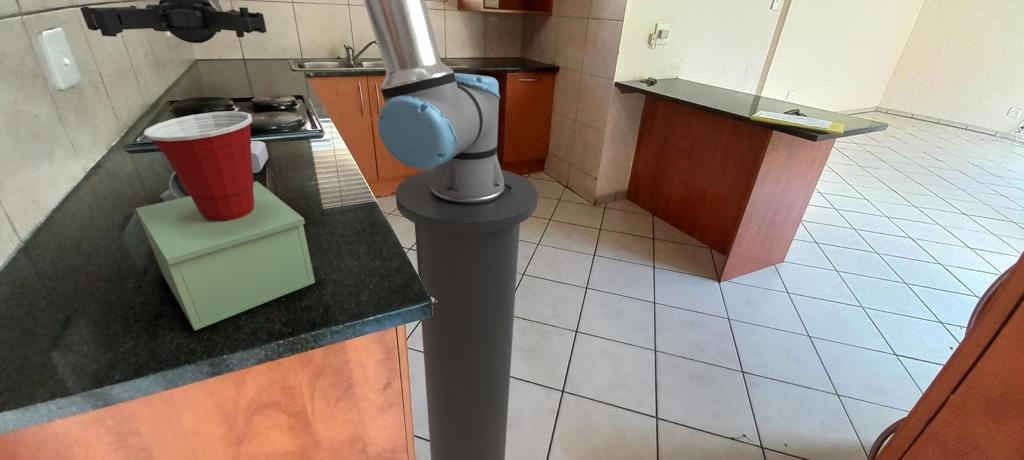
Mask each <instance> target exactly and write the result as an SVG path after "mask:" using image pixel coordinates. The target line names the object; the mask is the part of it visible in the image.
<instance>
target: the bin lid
mask: <svg viewBox="0 0 1024 460" xmlns="http://www.w3.org/2000/svg"><path fill="white" fill-rule="evenodd" d="M253 182H254V186H253V193H254V209H253V210H252V212H251V213H249V214H247V215H245V216H243V217H240V218H237V219H233V220H227V221H211V220H207V219H206V218H204V217H203V215H202V214H201V213H200V212H199V210H198V208H197V206H196V205H195V203H194V201H193V199H192V198H191V196H189V197H184V198H180V199H175V200H171V201H166V202H164V201H162V202H158V203H153V204H148V205H144V206H140V207H136V208H135V211H136V213H137V216H138V215H139V216H138V218H139V217H140V218H141V220H142V222H143V223H144V225H145V227H146V228H147V230H148V232H149V233H150V235H151V237H152V238H153V240H154V242H155V243H156V245H157V247H158V248H159V250H160V252H161V253H162V255H163V257H164V258H165V260H166V262H167V263H168V265H171V264H174V263H177V262H180V261H184V260H187V259H190V258H194V257H197V256H200V255H203V254H207V253H210V252H213V251H217V250H220V249H223V248H227V247H230V246H233V245H236V244H240V243H243V242H246V241H250V240H253V239H256V238H260V237H263V236H266V235H269V234H273V233H276V232H279V231H283V230H286V229H289V228H293V227H296V226H299V225H302V224H303V225H305V224H306V221H305V218H304V217H303V216H302V215H300V214H299V213H298V212H297V211H295V210H294V208H293V209H292V207H290V206H289V205H288V204H286V203H285V202H284V201H283V200H281V199H280V198H279V197H278V196H277V195H275V194H274V193H273V192H271V191H270V190H269V189H268V188H266V187H265V186H264V185H263V184H261V183H260V182H259V181H253ZM140 218H139V219H140Z"/></svg>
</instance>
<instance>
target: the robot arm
mask: <svg viewBox="0 0 1024 460" xmlns="http://www.w3.org/2000/svg"><path fill="white" fill-rule="evenodd" d="M363 3H364V7H365V9H366V13H367V15H368V19H369V22H370V25H371V29H372V31H373V35H374V38H375V41H376V45H377V47H378V51H379V54H380V57H381V60H382V64H383V67H384V70H385V77H384V79H383V81H382V83H381V85H380V91H381V94H382V97H383V101H384V103H385V104H383V106H382V107H381V108H380V111H379V114H380V115H379V116H378V117H377V130H378V134H379V137H380V140H381V142H382V144H383V145H384V147H385V149H386V150H387V151H388V152H389V154H390V155H391V156H392V157H393V158H395V160H396V161H400V162H401V163H402V164H403V165H404V166H405V167H409V168H412V169H415V170H430V169H434V171H433V174H432V177H431V183H430V189H431V194H432V195H433V196H434V197H435V198H437V199H439V200H441V201H444V202H447V203H451V204H457V205H480V204H485V203H489V202H493V201H495V200H497V199H499V198H500V197H502V196H503V194H504V190H505V187H506V188H508V189H509V190H511V189H512V186H511V185H510V184H508V183H507V182H505V181H504V178H503V175H502V171H501V170H502V168H501V165H500V162H499V159H498V138H499V137H498V135H499V134H498V133H499V111H500V110H499V109H500V107H499V106H500V99H501V95H500V92H499V91H500V90H499V88H500V87H499V81H498V80H497V79H496V78H494V77H492V76H488V75H481V74H472V73H471V74H470V73H460V72H455V71H454V69H452V68H451V67H449V66H448V65H446V64H445V63H444V62H443V61H442V59H441V56H440V52H439V48H438V45H437V41H436V37H435V33H434V30H433V25H432V22H431V17H430V14H429V10H428V7H427V3H426V0H363ZM79 9H80V12H81V14H82V17H83V20H84V22H85V25H86V28H87V30H89V31H98V30H100V34H101V36H102V37H110V38H111V37H113V38H115V37H118V34H121V33H123V32H124V31H125V30H146V29H153V31H155V32H162V33H163V32H166V33H167V32H169V33H170V34H171V35H173V36H174V37H176V39H178V40H181V41H184V42H187V43H190V44H203V43H206V42H208V41H211V40H212V39H213V38H214V37H215V36H216V34H217V33H221V32H222V31H230V32H231V31H232V32H235V34H236V38H245V33H246V34H251V33H253V32H257V33H260V34H265V33H267V31H268V30H267V27H266V22H265V17H264V16H265V15H264V14H263V13H262V12H257V11H256V12H252V11H251V12H250V11H249V8H248V7H245V6H242V7H238V9H239V10H236V9H234V8H233V9H229V10H225V11H223V9H222V6H221V5H220V2H219V0H159V1H158V4H146V5H145V8H141V7H140V6H137V5H130V6H112V7H111V6H109V7H108V6H107V7H106V6H105V7H99V6H98V7H90V6H81V7H79Z"/></svg>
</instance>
